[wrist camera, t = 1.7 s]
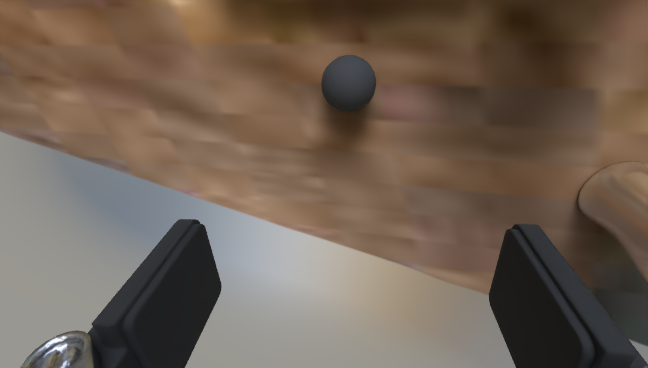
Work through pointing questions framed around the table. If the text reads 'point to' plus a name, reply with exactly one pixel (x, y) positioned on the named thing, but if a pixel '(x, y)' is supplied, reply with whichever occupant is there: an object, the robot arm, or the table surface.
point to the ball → (348, 83)
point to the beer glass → (621, 207)
